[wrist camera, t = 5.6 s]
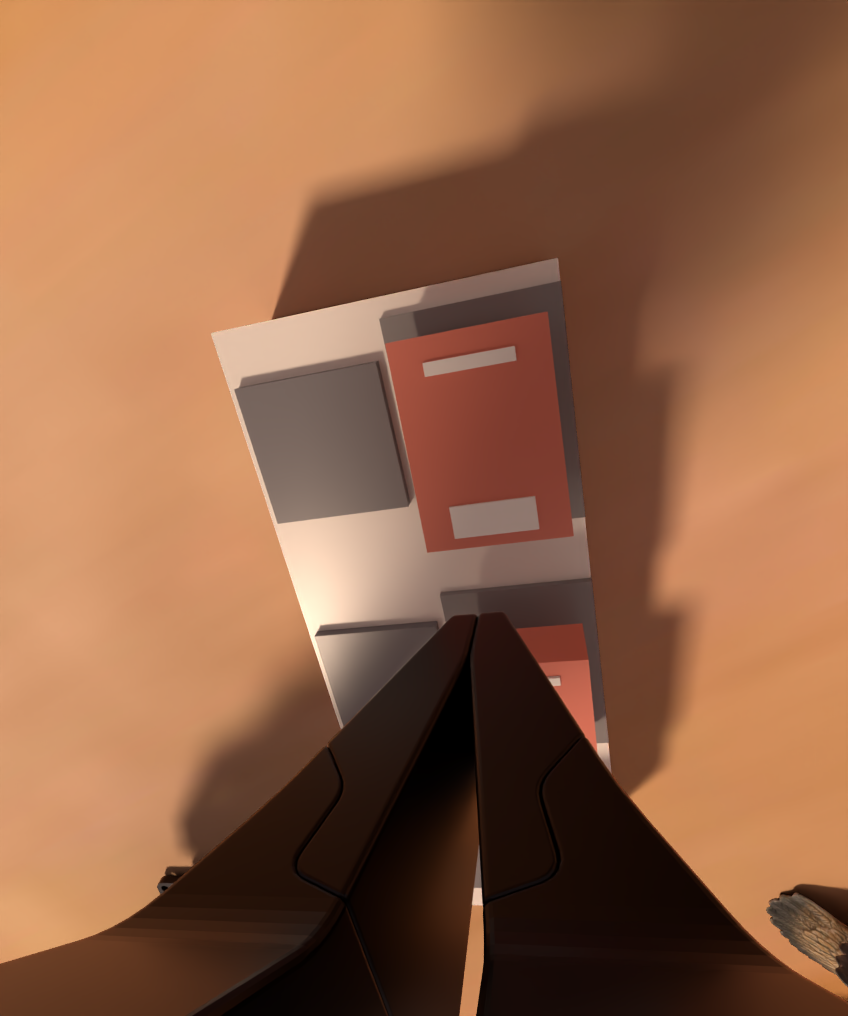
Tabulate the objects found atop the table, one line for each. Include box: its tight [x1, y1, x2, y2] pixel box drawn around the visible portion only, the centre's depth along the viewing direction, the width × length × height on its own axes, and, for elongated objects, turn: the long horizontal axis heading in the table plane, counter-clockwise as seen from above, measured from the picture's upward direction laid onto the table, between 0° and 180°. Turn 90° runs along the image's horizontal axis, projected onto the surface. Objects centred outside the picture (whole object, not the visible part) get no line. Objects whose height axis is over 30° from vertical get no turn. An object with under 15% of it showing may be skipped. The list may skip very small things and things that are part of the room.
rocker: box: [516, 623, 598, 754], centre depth 16 cm, size 5×4×1 cm
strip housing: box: [211, 258, 612, 905], centre depth 21 cm, size 29×9×4 cm, turn 11°
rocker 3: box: [385, 312, 574, 553], centre depth 13 cm, size 5×4×1 cm
